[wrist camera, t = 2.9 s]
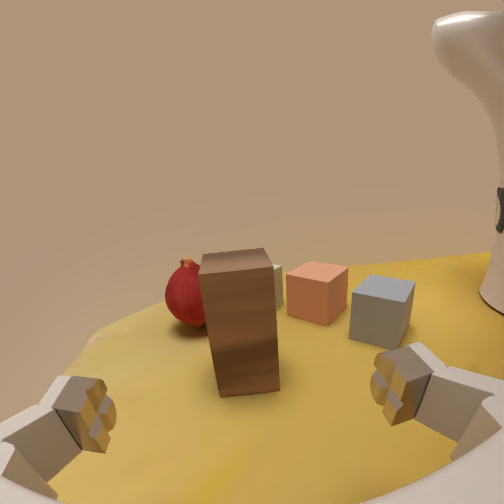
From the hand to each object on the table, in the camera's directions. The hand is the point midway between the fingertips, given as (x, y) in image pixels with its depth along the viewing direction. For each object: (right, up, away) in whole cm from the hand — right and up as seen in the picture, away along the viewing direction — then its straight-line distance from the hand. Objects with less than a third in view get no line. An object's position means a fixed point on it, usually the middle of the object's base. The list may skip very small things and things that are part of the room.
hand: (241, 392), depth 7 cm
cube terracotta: (+8, -3, +24) cm, 26 cm away
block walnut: (0, -6, +15) cm, 16 cm away
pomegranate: (-6, -4, +23) cm, 24 cm away
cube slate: (+13, -4, +18) cm, 23 cm away
